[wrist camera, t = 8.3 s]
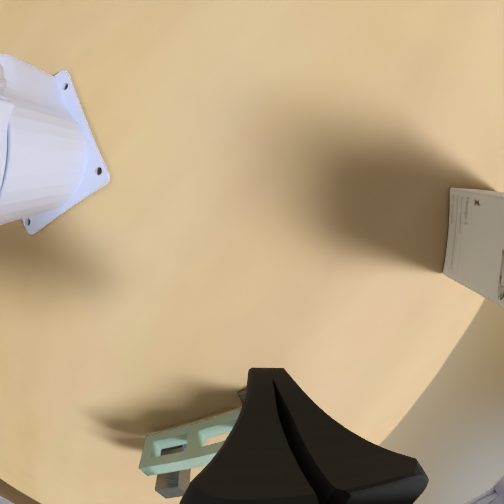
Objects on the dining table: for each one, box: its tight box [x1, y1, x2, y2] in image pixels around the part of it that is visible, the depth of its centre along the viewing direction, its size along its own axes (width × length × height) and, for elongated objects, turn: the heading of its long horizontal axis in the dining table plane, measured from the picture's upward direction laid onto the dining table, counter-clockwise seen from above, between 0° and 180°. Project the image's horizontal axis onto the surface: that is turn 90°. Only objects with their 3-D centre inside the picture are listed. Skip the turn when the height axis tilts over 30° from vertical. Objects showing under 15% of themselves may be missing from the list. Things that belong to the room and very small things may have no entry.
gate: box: [139, 409, 241, 476], centre depth 20 cm, size 10×1×4 cm, turn 114°
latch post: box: [155, 444, 191, 498], centre depth 21 cm, size 3×4×6 cm
